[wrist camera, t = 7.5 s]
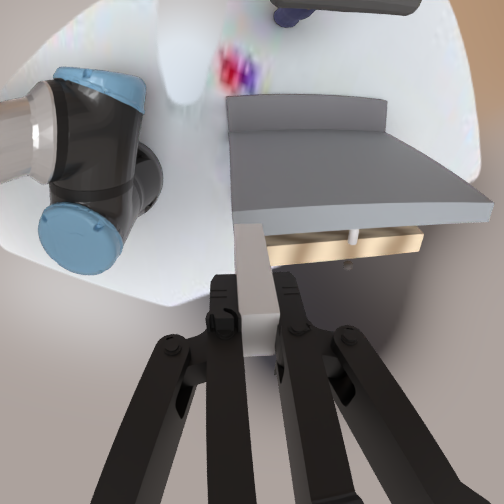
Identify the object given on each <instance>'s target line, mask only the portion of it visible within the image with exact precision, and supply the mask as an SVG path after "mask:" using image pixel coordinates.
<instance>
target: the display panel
mask: <svg viewBox="0 0 504 504" xmlns="http://www.w3.org/2000/svg"><path fill="white" fill-rule="evenodd" d="M227 110H228V124H229V145H230V176H231V203H232V219H233V230H234V224H262V227H263V231H264V236H269V235H282V234H295V233H309V232H323V231H337V230H349V235H348V241H347V242H348V244H350V245H356V244H357V240H358V234H359V229H367V228H382V227H399V226H416V225H431V224H432V225H433V224H452V223H472V222H489V219H490V216H491V212H492V209H493V206H494V202H493V201H491V200H490V199H489V198H487V197H486V196H485V195H484V194H482V193H481V192H480V191H478V190H477V189H475V188H474V187H473V186H472V185H470V184H469V183H467V182H466V181H465V180H463V179H462V178H460V177H459V176H457V175H456V174H454V173H453V172H452V171H450V170H449V169H447V168H445V167H444V166H442V165H441V164H439V163H438V162H436V161H435V160H433V159H431V158H430V157H428V156H427V155H425V154H423V153H422V152H420V151H418V150H416V149H415V148H413V147H411V146H410V145H408V144H406V143H404V142H403V141H401V140H399V139H397V138H395V137H393V136H392V135H390V134H388V133H386V132H385V128H386V115H387V101H386V100H381V99H372V98H362V97H351V96H337V95H316V94H264V95H243V96H228V97H227Z"/></svg>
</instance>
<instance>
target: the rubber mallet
mask: <svg viewBox="0 0 504 504" xmlns="http://www.w3.org/2000/svg"><path fill="white" fill-rule="evenodd" d="M270 1H271V3H272V4H274V5H275V6H276V7H278V9H277V10H276V11H275V13H274V20H275V22H276V23H277V24H279V25H280V26H281V27H285V28H288V27H293V26H295V25H296V24H297V23H298V22H299V20H302V19H305V18H307V17H309V16H310V15H311V14H312V13H313V12H314V11H315V10H329V11H340V12H360V13H376V14H390V15H401V16H407V15H409V14H412V13H414V12H415V10H416V9H417V8H418V7H419V5H420V3H421V1H422V0H270Z"/></svg>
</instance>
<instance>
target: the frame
mask: <svg viewBox="0 0 504 504" xmlns="http://www.w3.org/2000/svg"><path fill="white" fill-rule="evenodd" d="M348 235H349V230H337V231H323V232H309V233H295V234H282V235H269V236H265V241H266V246H267V251H268V255H269V260H270V265H271V266H278V265H289V264H299V263H309V262H320V261H331V260H341V259H351V258H360V257H370V256H380V255H389V254H398V253H408V252H417V251H419V249H420V246H421V242H422V239H423V235H424V233H423V232H422V231H421V230H420V229H419V228H418V227H417V226H399V227H382V228H367V229H359V234H358V240H357V244H356V245H350V244H348V242H347V241H348ZM352 266H353V263H352V262H351V261H345V262H344V265H343V268H344V269H346V270H351V269H352Z"/></svg>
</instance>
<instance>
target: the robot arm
mask: <svg viewBox="0 0 504 504" xmlns="http://www.w3.org/2000/svg"><path fill="white" fill-rule="evenodd" d="M53 78H54V80H47V81H40V82H38V83H37V84H36V85H35V86H34V87H33V88H32V90H31V91H30V92H29V93H28V94H27V95H26V96H25V97H23V98H17V99H12V100H7V101H2V102H0V184H2V183H5V182H8V181H11V180H14V179H17V178H21V177H24V176H30V177H32V178H33V179H34V180H36V181H37V182H39V183H40V184H48V183H49V188H50V206H48V207H47V208H46V209H45V210H44V212H43V213H42V216H41V218H40V221H39V225H38V234H39V238H40V241H41V244H42V246H43V248H44V250H45V251H46V252H47V254H48V255H49V256H50V257H51V258H52V259H53V260H55V261H56V262H57V263H58V264H59V265H60V266H61V267H63V268H65V269H67V270H69V271H71V272H74V273H77V274H81V275H96V274H100V273H103V272H104V271H106V270H108V269H109V268H110V267H111V266H112V265H113V264H114V262H115V261H116V259H117V258H118V256H119V255H120V254H121V252H122V249H123V246H124V243H125V241H126V239H127V237H128V235H129V233H130V231H131V229H132V226H133V224H134V222H135V220H136V218H137V217H139V216H141V215H142V214H144V213H146V212H147V211H148V210H149V209H150V208H151V207H152V206H153V205H154V203H155V202H156V200H157V198H158V196H159V194H160V192H161V189H162V184H163V173H162V168H161V165H160V163H159V161H158V159H157V157H156V156H155V154H154V153H153V152H152V151H151V150H150V149H149V148H148V147H147V146H145V145H144V144H142V143H140V142H138V141H139V134H140V128H141V122H142V116H143V115H144V113H145V110H144V102H145V95H146V85H145V83H144V81H143V80H142V79H141V78H139V77H137V76H133V75H128V74H122V73H116V72H109V71H102V70H93V69H84V68H76V67H59V68H57V70H56V72H55V74H54V75H53ZM234 256H235V274H221V275H215V276H214V278H213V279H212V281H211V285H210V311H209V312H208V313H207V316H206V325H207V329H206V330H205V331H204V332H203V333H201V334H200V335H198V336H195V337H192V338H188V339H185V338H184V337H183V336H180V335H177V334H171V335H166V336H164V337H163V338H161V339H160V340H159V341H158V343H157V344H156V346H155V348H154V350H153V352H152V354H151V357H150V359H149V361H148V363H147V365H146V368H145V370H144V372H143V374H142V377H141V379H140V381H139V383H138V386H137V388H136V390H135V392H134V395H133V397H132V399H131V402H130V404H129V407H128V409H127V411H126V413H125V416H124V418H123V421H122V423H121V426H120V428H119V430H118V433H117V435H116V438H115V440H114V442H113V445H112V448H111V450H110V452H109V455H108V458H107V460H106V463H105V465H104V468H103V471H102V473H101V476H100V478H99V481H98V484H97V487H96V489H95V492H94V495H93V498H92V500H91V503H90V504H160V503H161V499H162V496H163V493H164V489H165V486H166V483H167V480H168V476H169V473H170V469H171V467H172V463H173V460H174V457H175V454H176V451H177V447H178V444H179V440H180V437H181V434H182V431H183V428H184V425H185V422H186V419H187V415H188V412H189V409H190V406H191V403H192V399H193V397H194V393H195V390H196V387H197V385H198V384H201V383H204V382H206V442H207V484H208V504H257V502H256V493H255V483H254V472H253V462H252V451H251V440H250V429H249V417H248V406H247V393H246V382H245V369H244V357H245V356H264V355H274V353H275V352H276V364H275V370H274V375H276V374H277V379H278V386H279V393H280V399H281V406H282V413H283V419H284V427H285V433H286V440H287V447H288V454H289V460H290V468H291V475H292V481H293V489H294V495H295V502H296V504H364V503H363V501H362V499H361V498H360V497H359V496H358V495H357V494H356V492H355V489H354V485H353V481H352V476H351V471H350V467H349V462H348V458H347V454H346V450H345V445H344V441H343V437H342V432H341V428H340V424H339V420H338V416H337V412H336V408H335V404H334V401H335V402H336V404H337V406H338V408H339V410H340V412H341V413H342V415H343V417H344V419H345V420H346V422H347V424H348V426H349V428H350V429H351V431H352V433H353V435H354V437H355V438H356V440H357V442H358V444H359V445H360V447H361V449H362V451H363V453H364V455H365V457H366V458H367V460H368V462H369V464H370V466H371V467H372V469H373V471H374V472H375V475H376V476H377V478H378V480H379V482H380V484H381V485H382V487H383V489H384V491H385V492H386V494H387V496H388V498H389V500H390V501H391V503H392V504H491V503H490V502H489V501H487V500H486V499H484V498H483V497H482V496H480V495H479V494H477V493H476V492H474V491H473V490H472V489H470V488H469V487H467V486H466V485H465V484H463V483H462V482H460V480H459V478H458V476H457V475H456V473H455V471H454V470H453V468H452V467H451V465H450V463H449V462H448V460H447V458H446V457H445V455H444V453H443V452H442V450H441V449H440V447H439V445H438V444H437V442H436V441H435V439H434V438H433V436H432V434H431V433H430V431H429V430H428V428H427V427H426V425H425V424H424V422H423V421H422V419H421V417H420V416H419V414H418V413H417V411H416V410H415V408H414V407H413V405H412V404H411V402H410V401H409V399H408V398H407V397H406V395H405V393H404V392H403V390H402V389H401V387H400V386H399V385H398V383H397V382H396V380H395V379H394V377H393V376H392V375H391V373H390V372H389V370H388V369H387V367H386V365H385V364H384V363H383V361H382V360H381V358H380V357H379V355H378V354H377V353H376V351H375V350H374V348H373V347H372V346H371V344H370V343H369V341H368V340H367V339H366V337H365V336H364V334H363V333H362V332H361V331H360V330H359V329H357V328H356V327H354V326H349V325H345V326H341V327H339V328H337V329H336V331H335V332H332V331H327V330H322V329H319V328H317V327H315V326H313V325H312V323H311V322H310V321H309V320H308V319H307V317H306V313H305V310H304V306H303V303H302V299H301V296H300V292H299V289H298V285H297V282H296V279H295V277H294V276H293V275H292V274H291V273H290V272H272V270H271V265H270V260H269V255H268V251H267V246H266V241H265V236H264V231H263V227H262V224H234ZM333 399H334V400H333Z"/></svg>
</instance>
